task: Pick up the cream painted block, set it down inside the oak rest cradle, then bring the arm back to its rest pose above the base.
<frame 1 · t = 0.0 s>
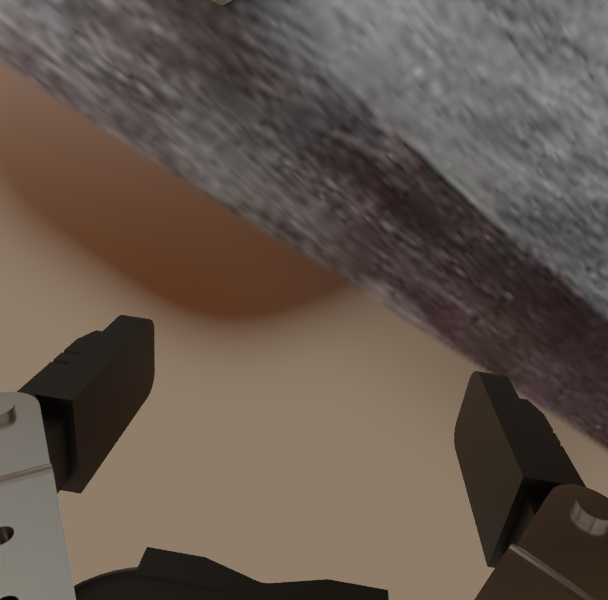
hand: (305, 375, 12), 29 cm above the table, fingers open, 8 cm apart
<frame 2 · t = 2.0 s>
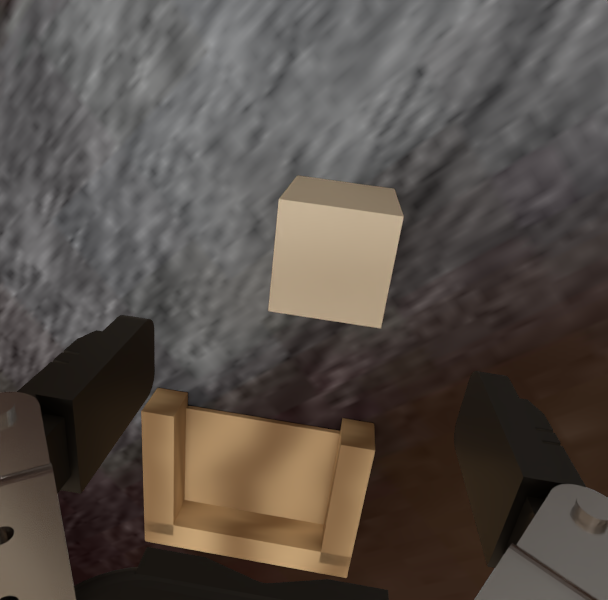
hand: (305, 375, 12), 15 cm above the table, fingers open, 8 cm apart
block: (338, 229, 26), on the table
rest cradle: (257, 476, 33), on the table
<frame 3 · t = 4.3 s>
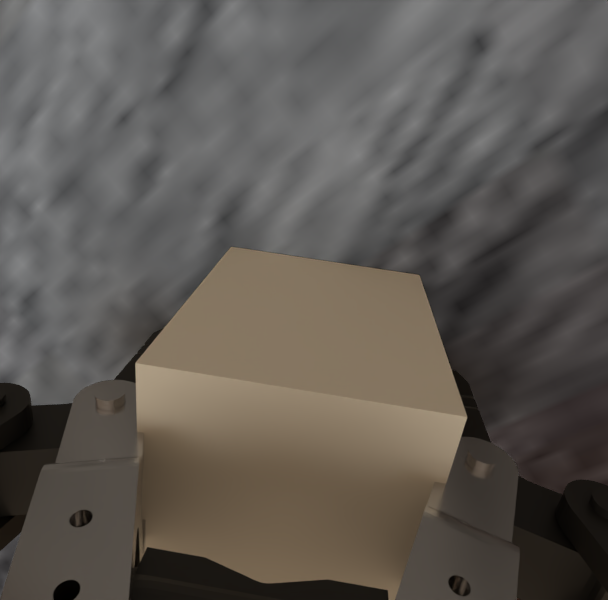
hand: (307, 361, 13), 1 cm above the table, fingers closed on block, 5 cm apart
block: (312, 343, 14), on the table, touching gripper
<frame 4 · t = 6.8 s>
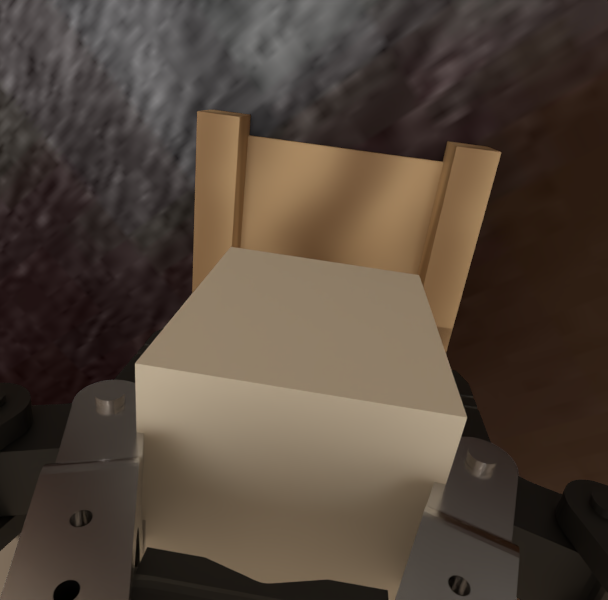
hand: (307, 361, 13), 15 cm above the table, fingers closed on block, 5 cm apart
block: (311, 343, 14), point 14 cm above the table, touching gripper
rest cradle: (331, 241, 27), on the table
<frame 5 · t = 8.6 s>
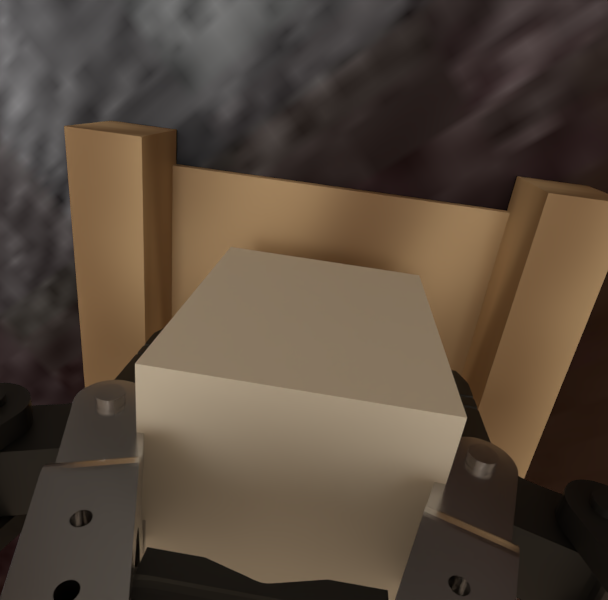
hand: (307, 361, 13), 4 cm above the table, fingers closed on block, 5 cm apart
block: (311, 343, 14), point 3 cm above the table, touching gripper
rest cradle: (317, 333, 16), on the table
when the fingers open (2 cm above the table, at t = 9.8 s): block drops 1 cm, resting on rest cradle.
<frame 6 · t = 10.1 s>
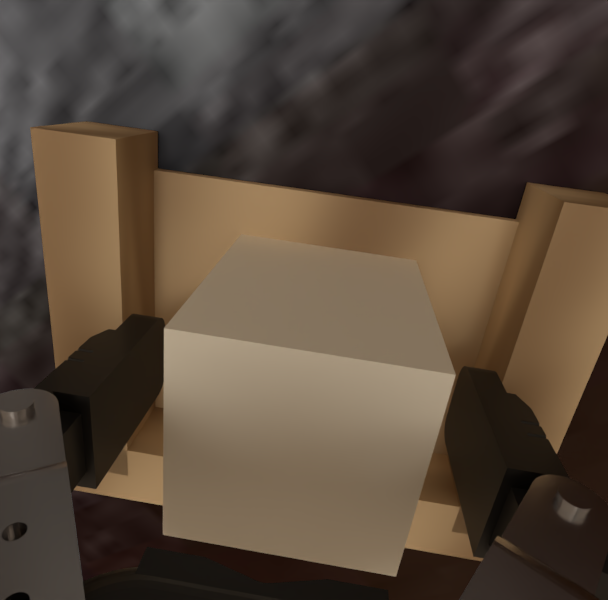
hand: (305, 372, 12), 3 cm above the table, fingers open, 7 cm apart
block: (316, 325, 15), resting on rest cradle
rest cradle: (311, 349, 15), on the table
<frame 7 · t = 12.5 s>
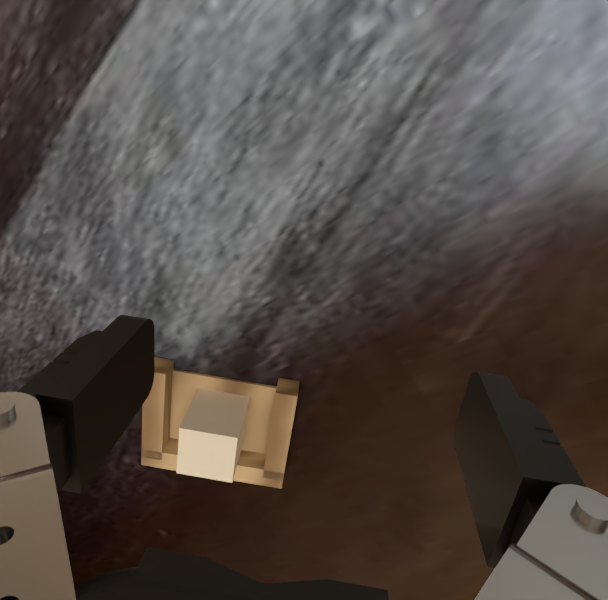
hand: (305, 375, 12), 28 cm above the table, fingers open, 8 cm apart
block: (222, 413, 47), resting on rest cradle
rest cradle: (221, 420, 48), on the table
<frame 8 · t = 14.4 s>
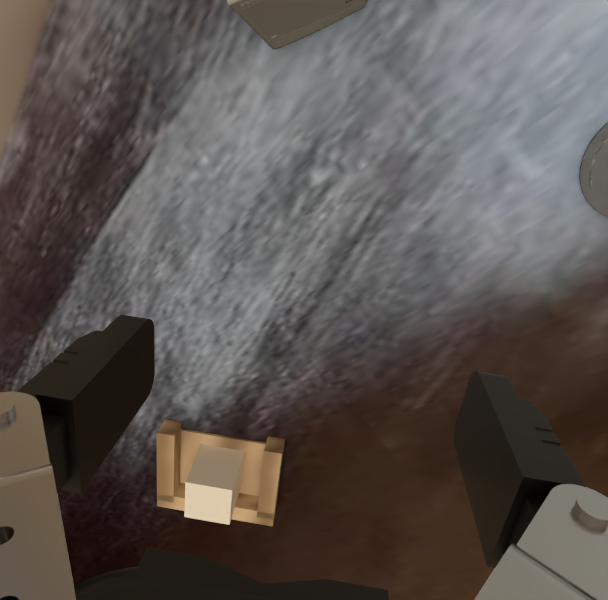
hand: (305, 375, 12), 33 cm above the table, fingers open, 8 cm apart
block: (222, 464, 57), resting on rest cradle
rest cradle: (222, 468, 57), on the table
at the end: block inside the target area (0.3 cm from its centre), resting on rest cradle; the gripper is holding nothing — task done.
